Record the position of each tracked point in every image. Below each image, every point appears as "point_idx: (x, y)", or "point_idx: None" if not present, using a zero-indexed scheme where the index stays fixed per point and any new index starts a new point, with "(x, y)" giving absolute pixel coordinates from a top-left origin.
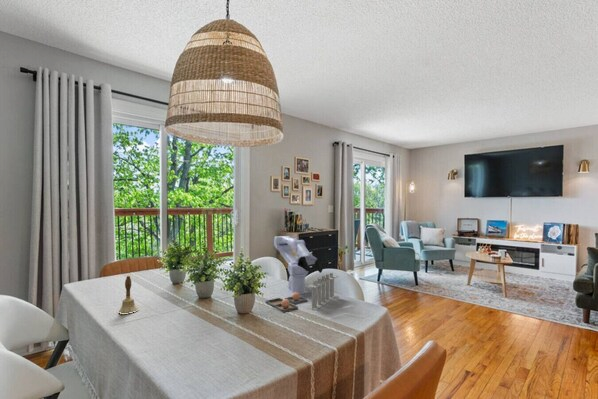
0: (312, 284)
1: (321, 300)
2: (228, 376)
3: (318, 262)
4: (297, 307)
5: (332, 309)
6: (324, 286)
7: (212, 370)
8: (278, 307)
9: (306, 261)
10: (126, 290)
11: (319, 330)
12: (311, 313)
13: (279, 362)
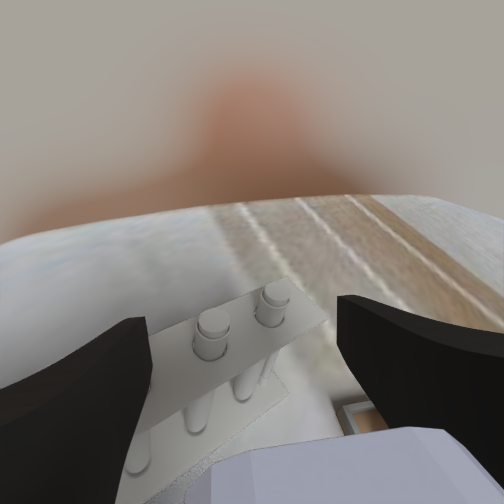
0: (283, 329)
1: (134, 494)
2: (459, 218)
3: (75, 391)
4: (342, 407)
5: None
6: None
7: (489, 234)
8: None
9: (414, 334)
10: None
11: (301, 245)
12: None
13: (393, 210)
